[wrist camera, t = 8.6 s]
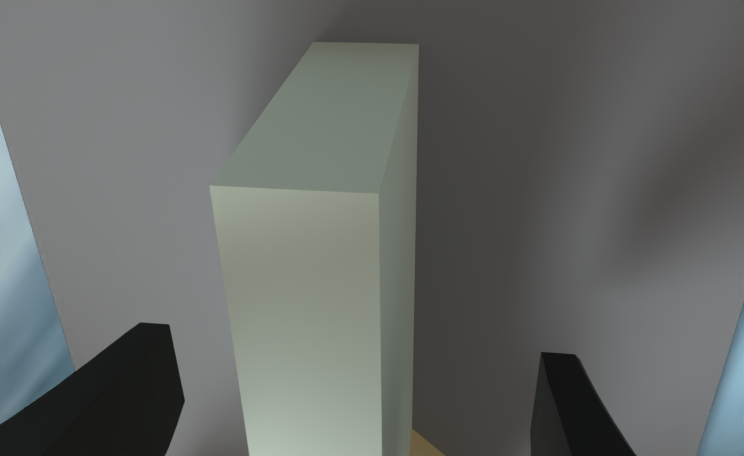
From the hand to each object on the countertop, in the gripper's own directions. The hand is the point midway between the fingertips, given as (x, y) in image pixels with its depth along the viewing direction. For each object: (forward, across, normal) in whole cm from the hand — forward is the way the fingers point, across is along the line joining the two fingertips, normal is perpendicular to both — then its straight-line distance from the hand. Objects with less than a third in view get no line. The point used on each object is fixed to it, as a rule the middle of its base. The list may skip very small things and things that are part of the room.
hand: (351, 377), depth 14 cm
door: (+3, 0, +1) cm, 3 cm away
